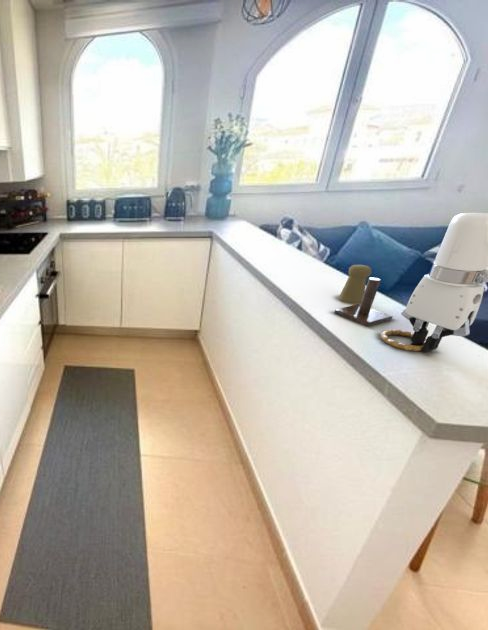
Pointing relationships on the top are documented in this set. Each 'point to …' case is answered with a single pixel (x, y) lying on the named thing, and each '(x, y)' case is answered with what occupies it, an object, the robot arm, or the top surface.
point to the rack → (365, 307)
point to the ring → (400, 345)
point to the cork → (355, 284)
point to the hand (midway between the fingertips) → (421, 347)
